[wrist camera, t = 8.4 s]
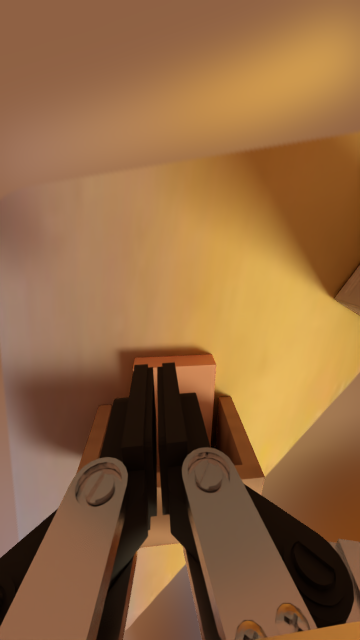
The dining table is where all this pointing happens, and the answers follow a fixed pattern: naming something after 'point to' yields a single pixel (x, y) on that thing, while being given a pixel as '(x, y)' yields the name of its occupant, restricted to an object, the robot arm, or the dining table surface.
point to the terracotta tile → (189, 382)
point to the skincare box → (351, 293)
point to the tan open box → (227, 441)
